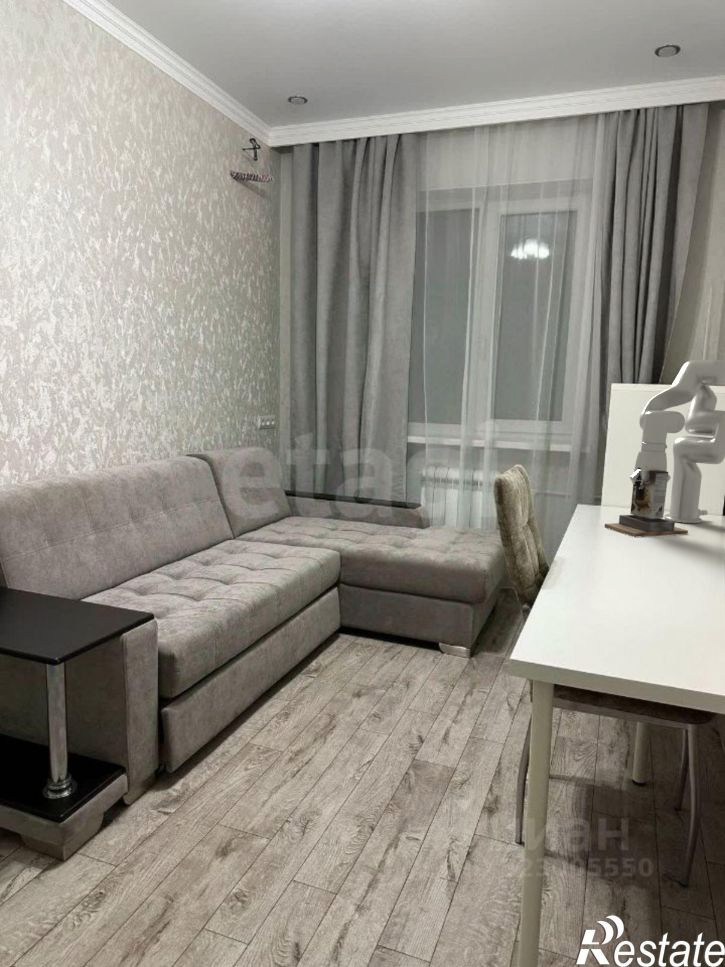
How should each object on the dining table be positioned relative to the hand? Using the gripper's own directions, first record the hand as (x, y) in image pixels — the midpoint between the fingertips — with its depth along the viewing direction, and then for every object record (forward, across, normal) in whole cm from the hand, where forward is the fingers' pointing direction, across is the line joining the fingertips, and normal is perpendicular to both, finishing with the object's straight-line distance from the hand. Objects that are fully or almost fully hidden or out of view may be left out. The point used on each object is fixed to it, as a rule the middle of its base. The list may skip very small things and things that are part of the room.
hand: (648, 499), depth 223 cm
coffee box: (+6, 0, 0) cm, 6 cm away
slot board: (+11, 0, 0) cm, 11 cm away
